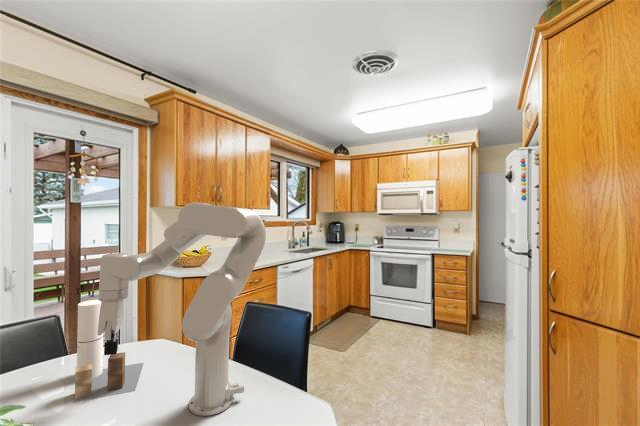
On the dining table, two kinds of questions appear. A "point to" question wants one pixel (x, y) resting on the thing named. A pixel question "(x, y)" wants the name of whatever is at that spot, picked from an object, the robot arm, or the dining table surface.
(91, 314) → the cylindrical container
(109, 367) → the walnut block
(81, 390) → the oak block
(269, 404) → the dining table surface
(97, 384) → the mat
